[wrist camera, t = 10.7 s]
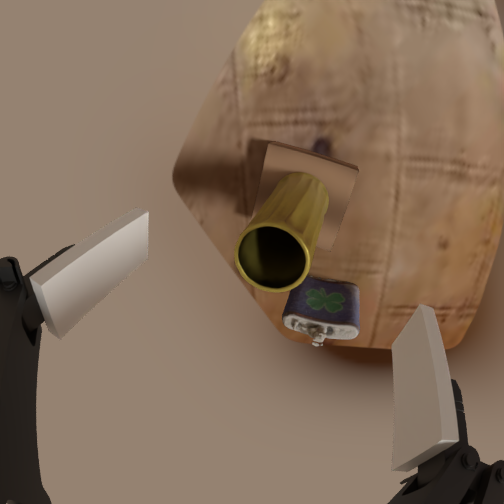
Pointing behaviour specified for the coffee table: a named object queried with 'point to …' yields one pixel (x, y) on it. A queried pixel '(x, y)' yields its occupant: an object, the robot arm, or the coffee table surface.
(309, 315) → the flask
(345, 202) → the plinth
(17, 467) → the robot arm
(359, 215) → the coffee table surface
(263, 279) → the vase
